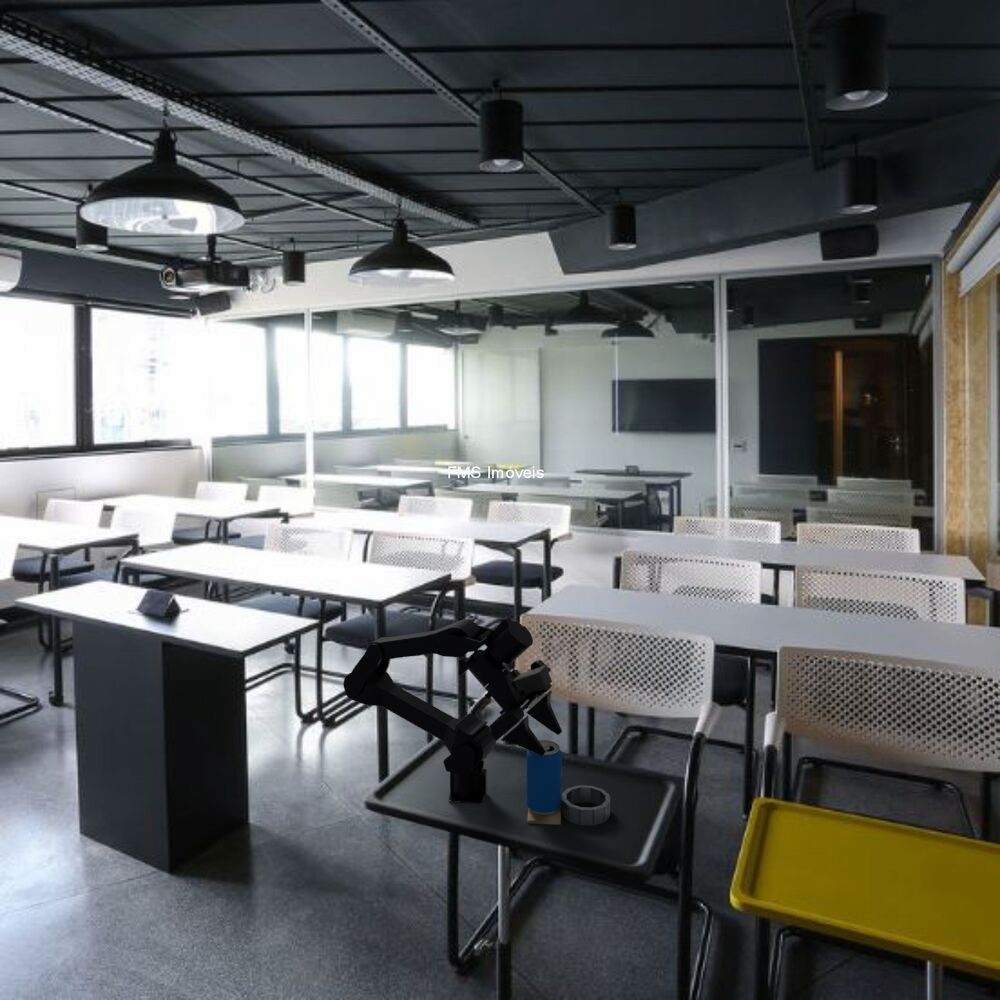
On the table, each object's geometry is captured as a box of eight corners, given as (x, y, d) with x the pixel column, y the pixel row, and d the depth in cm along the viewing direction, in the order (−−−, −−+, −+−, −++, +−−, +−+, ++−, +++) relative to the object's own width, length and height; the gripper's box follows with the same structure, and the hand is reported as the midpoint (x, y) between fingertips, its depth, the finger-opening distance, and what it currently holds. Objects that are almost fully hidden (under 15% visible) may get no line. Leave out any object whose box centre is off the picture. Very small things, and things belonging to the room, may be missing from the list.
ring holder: (561, 824, 148) (561, 808, 148) (561, 799, 157) (562, 784, 156) (611, 826, 148) (611, 810, 147) (608, 801, 156) (608, 786, 156)
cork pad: (527, 823, 149) (527, 820, 148) (529, 798, 157) (529, 795, 157) (560, 824, 148) (560, 821, 148) (560, 799, 157) (560, 796, 157)
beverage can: (560, 818, 149) (561, 755, 147) (524, 815, 150) (525, 753, 148) (562, 799, 156) (562, 739, 154) (527, 797, 156) (528, 738, 154)
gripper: (505, 668, 141) (566, 739, 139) (541, 636, 158) (596, 699, 156) (464, 705, 145) (523, 775, 143) (504, 670, 162) (557, 732, 160)
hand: (552, 743), depth 150 cm, fingers open, 9 cm apart
